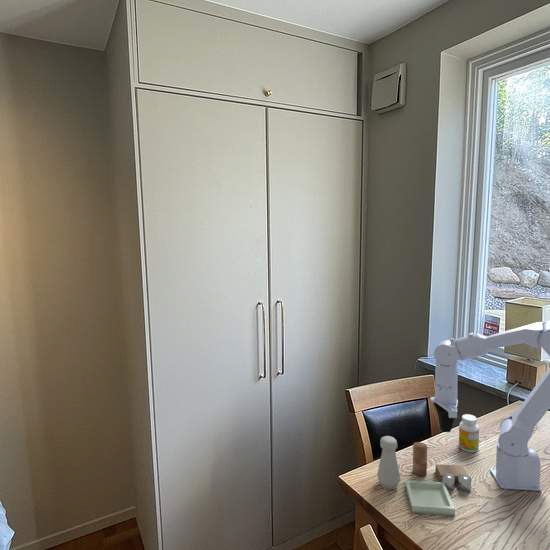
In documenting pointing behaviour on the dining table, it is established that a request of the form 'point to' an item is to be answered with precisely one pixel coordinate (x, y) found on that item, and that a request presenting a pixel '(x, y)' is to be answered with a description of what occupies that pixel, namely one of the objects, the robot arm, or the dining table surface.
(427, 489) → the tray
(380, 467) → the salt shaker
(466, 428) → the supplement bottle
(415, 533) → the dining table surface
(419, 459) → the dowel
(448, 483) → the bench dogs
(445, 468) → the wooden block
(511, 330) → the robot arm
